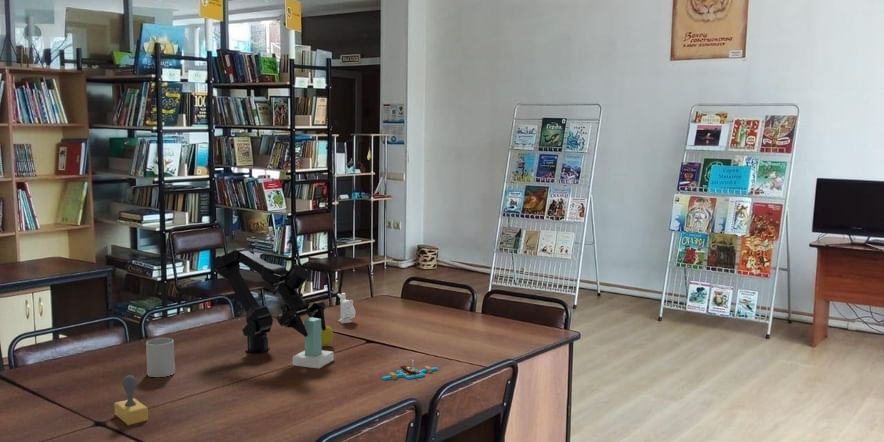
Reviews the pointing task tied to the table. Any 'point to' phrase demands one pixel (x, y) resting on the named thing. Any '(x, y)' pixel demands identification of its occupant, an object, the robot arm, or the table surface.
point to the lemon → (326, 336)
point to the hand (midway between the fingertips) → (316, 333)
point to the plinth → (313, 359)
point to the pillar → (313, 336)
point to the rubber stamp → (130, 404)
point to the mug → (160, 357)
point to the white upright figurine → (346, 309)
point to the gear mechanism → (409, 372)
